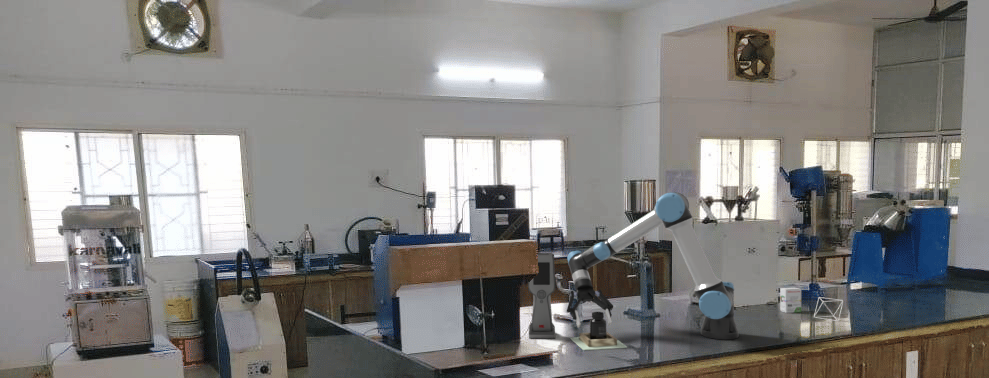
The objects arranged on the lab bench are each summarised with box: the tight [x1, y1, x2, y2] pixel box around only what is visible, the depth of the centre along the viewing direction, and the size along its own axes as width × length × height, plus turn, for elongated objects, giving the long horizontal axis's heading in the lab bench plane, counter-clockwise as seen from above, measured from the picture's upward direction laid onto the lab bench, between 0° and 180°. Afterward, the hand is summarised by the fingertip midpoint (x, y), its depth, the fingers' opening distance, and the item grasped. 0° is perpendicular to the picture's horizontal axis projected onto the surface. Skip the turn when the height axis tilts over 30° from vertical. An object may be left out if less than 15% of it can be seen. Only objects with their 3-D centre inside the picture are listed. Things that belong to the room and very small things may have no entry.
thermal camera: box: [527, 252, 556, 340], centre depth 257 cm, size 12×13×35 cm
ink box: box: [779, 287, 802, 314], centre depth 296 cm, size 8×5×12 cm, turn 99°
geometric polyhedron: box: [813, 296, 844, 322], centre depth 282 cm, size 12×11×9 cm
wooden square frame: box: [578, 332, 618, 347], centre depth 243 cm, size 12×12×2 cm
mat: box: [569, 336, 628, 351], centre depth 243 cm, size 18×18×1 cm
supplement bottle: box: [589, 311, 607, 340], centre depth 244 cm, size 7×7×12 cm
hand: (594, 325), depth 246 cm, fingers open, 13 cm apart
